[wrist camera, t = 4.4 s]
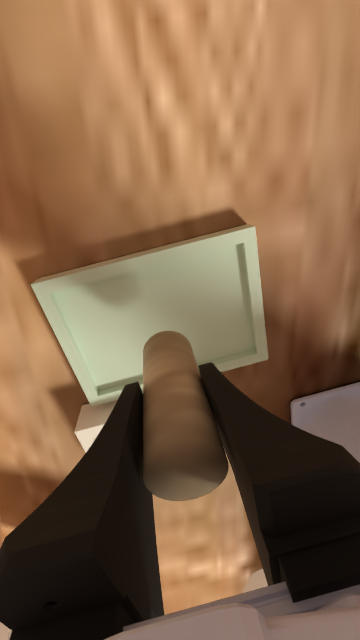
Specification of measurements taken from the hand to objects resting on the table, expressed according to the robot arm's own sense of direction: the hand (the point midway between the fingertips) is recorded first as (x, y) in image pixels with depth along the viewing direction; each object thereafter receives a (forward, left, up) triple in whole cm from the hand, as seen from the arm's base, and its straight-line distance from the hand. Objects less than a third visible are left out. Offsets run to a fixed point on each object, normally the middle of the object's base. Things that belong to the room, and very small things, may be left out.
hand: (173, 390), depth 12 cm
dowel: (0, 0, -3) cm, 3 cm away
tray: (0, 0, -8) cm, 8 cm away
